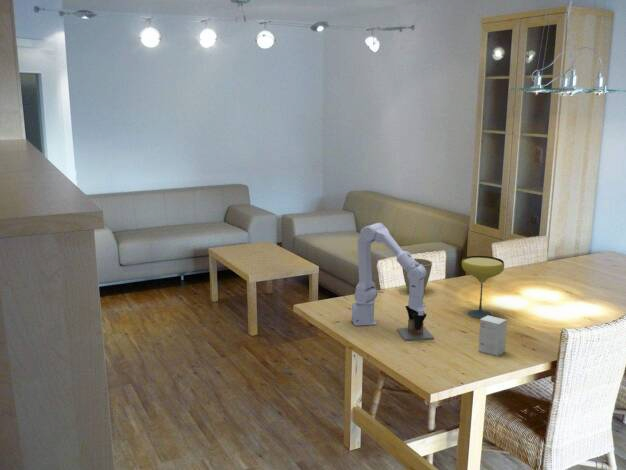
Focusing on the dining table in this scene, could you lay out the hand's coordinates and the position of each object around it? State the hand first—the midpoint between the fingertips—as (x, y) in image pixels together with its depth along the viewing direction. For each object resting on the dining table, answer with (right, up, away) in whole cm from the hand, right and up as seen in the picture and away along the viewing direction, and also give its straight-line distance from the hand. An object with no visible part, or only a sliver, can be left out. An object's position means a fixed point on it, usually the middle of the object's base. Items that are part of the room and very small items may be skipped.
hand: (415, 326), depth 256 cm
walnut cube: (0, -3, +1) cm, 3 cm away
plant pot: (+9, +8, +55) cm, 57 cm away
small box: (+27, -7, -16) cm, 32 cm away
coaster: (0, -4, +1) cm, 4 cm away
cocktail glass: (+33, +2, +24) cm, 41 cm away
